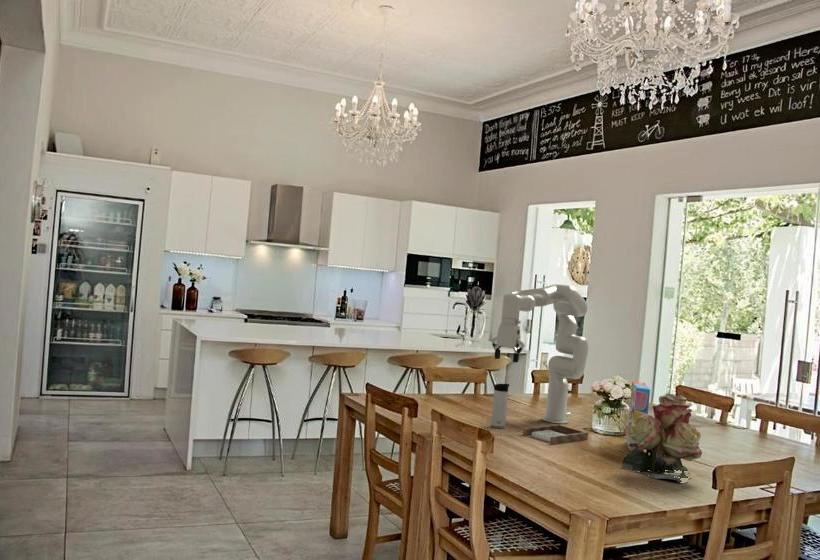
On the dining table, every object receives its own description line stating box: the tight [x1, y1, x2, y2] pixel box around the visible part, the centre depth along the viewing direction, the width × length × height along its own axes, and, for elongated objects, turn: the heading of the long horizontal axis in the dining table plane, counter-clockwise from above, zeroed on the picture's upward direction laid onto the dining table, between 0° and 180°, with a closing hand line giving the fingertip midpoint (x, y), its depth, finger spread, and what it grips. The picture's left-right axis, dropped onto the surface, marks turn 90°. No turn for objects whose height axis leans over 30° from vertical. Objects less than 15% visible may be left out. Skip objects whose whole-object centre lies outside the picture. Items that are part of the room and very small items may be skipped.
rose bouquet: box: [621, 393, 703, 484], centre depth 279 cm, size 26×29×30 cm
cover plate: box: [531, 430, 565, 442], centre depth 318 cm, size 12×10×2 cm
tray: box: [522, 424, 589, 445], centre depth 321 cm, size 24×16×4 cm, turn 131°
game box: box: [625, 381, 651, 453], centre depth 316 cm, size 21×6×27 cm, turn 168°
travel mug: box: [490, 383, 510, 429], centre depth 333 cm, size 6×7×20 cm
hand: (506, 360), depth 330 cm, fingers open, 9 cm apart
